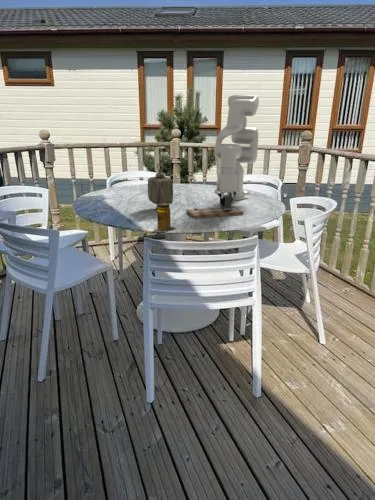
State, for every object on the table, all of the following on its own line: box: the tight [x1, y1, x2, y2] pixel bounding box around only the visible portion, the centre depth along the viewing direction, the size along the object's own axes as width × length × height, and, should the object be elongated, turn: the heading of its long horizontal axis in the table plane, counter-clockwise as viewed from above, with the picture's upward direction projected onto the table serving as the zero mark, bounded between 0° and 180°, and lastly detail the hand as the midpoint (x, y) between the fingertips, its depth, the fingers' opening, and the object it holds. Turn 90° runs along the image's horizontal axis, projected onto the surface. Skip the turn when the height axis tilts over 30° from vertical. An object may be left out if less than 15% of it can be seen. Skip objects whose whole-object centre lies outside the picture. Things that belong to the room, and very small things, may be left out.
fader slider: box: [219, 194, 233, 211], centre depth 191 cm, size 5×6×7 cm
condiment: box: [154, 203, 177, 233], centre depth 164 cm, size 7×8×12 cm
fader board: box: [185, 205, 244, 219], centre depth 191 cm, size 28×12×2 cm, turn 108°
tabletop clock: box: [147, 163, 174, 211], centre depth 193 cm, size 14×9×25 cm, turn 28°
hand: (226, 204), depth 192 cm, fingers closed on fader slider, 4 cm apart
